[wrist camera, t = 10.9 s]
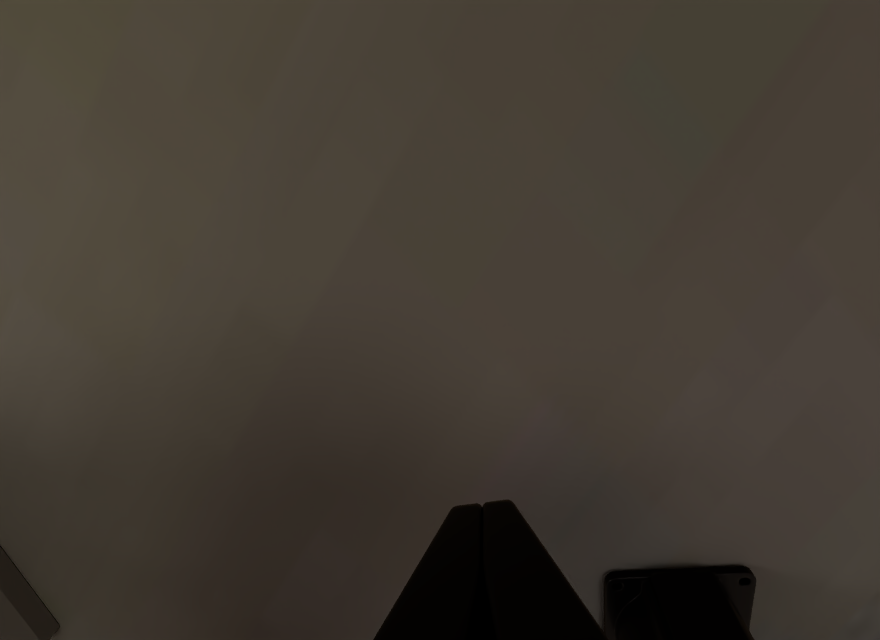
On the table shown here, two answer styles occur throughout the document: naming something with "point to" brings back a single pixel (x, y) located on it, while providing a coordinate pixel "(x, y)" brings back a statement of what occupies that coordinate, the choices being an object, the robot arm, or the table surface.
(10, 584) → the dark grey curved stand
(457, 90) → the table surface
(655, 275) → the table surface
